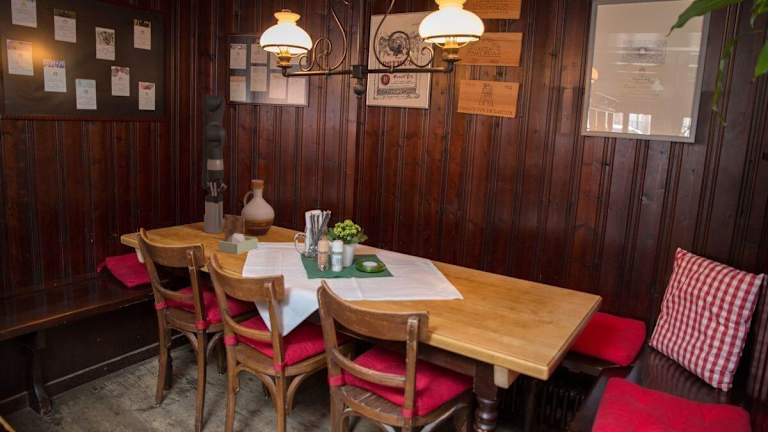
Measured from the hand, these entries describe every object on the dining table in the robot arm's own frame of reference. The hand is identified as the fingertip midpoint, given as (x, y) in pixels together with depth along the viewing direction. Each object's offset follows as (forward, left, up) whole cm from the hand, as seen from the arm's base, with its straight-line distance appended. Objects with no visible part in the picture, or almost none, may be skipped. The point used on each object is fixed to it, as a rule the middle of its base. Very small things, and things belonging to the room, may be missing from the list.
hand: (216, 203), depth 283 cm
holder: (+13, 0, -22) cm, 25 cm away
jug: (-1, +33, -22) cm, 40 cm away
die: (+12, 0, -22) cm, 25 cm away
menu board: (+2, +11, -22) cm, 25 cm away
